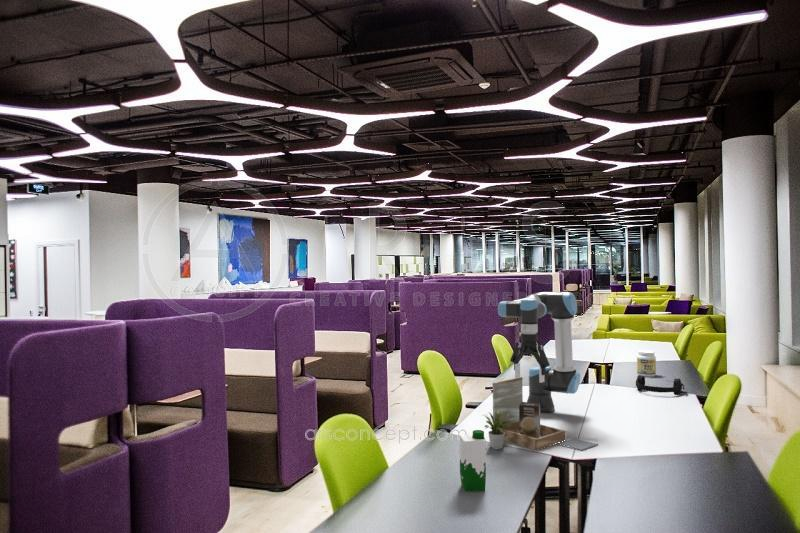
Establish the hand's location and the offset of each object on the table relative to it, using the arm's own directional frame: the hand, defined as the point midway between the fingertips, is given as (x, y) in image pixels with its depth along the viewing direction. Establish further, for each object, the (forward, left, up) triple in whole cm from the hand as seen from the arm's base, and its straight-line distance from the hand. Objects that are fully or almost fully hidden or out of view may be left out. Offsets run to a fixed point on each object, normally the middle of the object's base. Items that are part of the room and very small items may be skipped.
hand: (529, 380), depth 263 cm
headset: (-9, +138, -27) cm, 141 cm away
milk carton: (+23, -61, -27) cm, 71 cm away
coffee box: (0, 0, -27) cm, 27 cm away
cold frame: (0, 0, -27) cm, 27 cm away
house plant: (-2, -21, -27) cm, 34 cm away
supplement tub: (-40, +180, -27) cm, 186 cm away
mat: (+19, +9, -27) cm, 34 cm away
